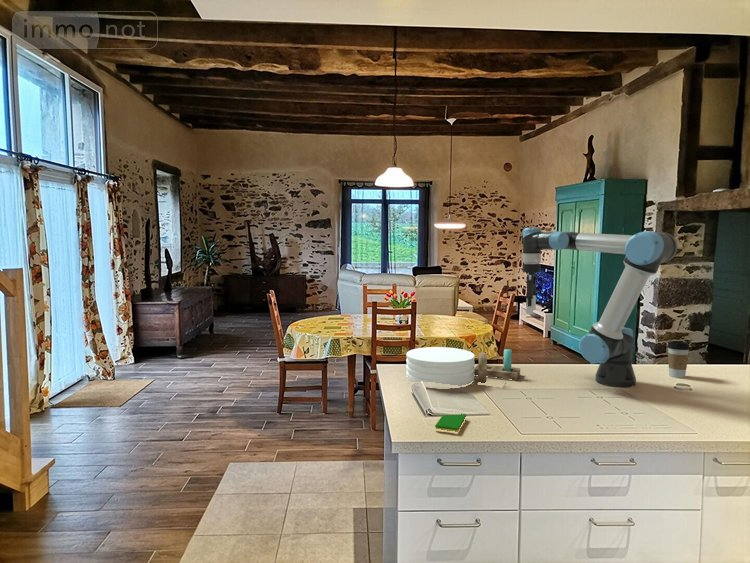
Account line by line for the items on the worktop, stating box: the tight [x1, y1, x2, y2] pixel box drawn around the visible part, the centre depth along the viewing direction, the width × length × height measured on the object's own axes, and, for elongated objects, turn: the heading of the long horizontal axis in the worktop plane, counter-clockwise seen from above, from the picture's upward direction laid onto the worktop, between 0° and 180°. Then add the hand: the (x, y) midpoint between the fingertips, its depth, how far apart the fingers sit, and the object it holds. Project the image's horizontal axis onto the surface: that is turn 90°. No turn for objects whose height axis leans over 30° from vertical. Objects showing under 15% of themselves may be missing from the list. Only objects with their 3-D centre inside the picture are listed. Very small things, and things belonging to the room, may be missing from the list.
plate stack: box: [405, 346, 475, 386], centre depth 212 cm, size 28×28×12 cm
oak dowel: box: [477, 352, 488, 383], centre depth 208 cm, size 3×3×12 cm
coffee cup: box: [667, 340, 691, 379], centre depth 219 cm, size 8×8×15 cm
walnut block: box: [474, 363, 521, 381], centre depth 219 cm, size 18×10×4 cm, turn 65°
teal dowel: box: [503, 348, 513, 371], centre depth 216 cm, size 3×3×12 cm
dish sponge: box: [434, 413, 468, 432], centre depth 162 cm, size 7×14×2 cm, turn 159°
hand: (531, 311), depth 225 cm, fingers open, 13 cm apart
